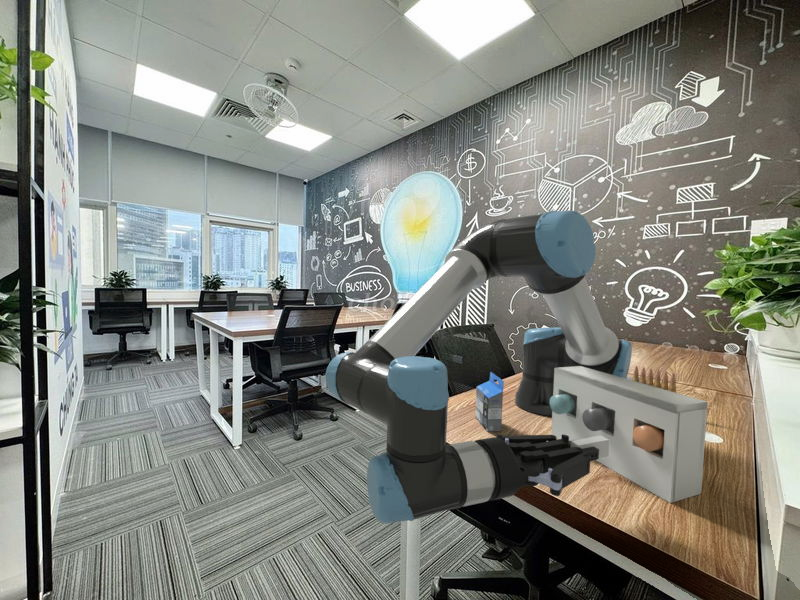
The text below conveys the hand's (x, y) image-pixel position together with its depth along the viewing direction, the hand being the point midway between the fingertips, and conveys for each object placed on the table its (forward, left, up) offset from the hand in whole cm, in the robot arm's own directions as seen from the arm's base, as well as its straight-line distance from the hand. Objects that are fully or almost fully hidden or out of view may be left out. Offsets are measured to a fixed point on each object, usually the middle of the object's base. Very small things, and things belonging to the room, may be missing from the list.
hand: (604, 445), depth 53 cm
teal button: (-17, +9, -2) cm, 19 cm away
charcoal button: (-8, +9, -2) cm, 12 cm away
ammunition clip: (-25, +52, -9) cm, 59 cm away
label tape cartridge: (-30, -1, -9) cm, 32 cm away
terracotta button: (0, +11, -2) cm, 11 cm away
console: (-8, +14, -9) cm, 19 cm away
